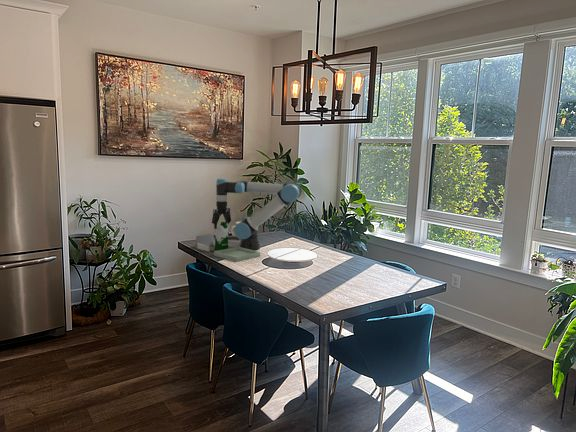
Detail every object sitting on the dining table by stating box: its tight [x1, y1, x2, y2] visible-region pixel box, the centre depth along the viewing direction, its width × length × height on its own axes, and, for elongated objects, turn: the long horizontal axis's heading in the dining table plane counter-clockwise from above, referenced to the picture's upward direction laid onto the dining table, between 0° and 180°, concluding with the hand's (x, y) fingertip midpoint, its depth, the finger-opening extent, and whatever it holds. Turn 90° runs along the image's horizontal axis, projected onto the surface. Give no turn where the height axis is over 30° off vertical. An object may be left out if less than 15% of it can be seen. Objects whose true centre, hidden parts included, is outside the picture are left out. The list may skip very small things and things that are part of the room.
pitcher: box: [230, 220, 242, 240], centre depth 343 cm, size 11×18×14 cm, turn 128°
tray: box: [213, 246, 261, 263], centre depth 286 cm, size 22×22×3 cm
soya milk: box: [214, 221, 230, 251], centre depth 298 cm, size 9×9×20 cm
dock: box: [195, 232, 215, 252], centre depth 306 cm, size 14×15×9 cm
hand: (221, 232), depth 298 cm, fingers closed on soya milk, 9 cm apart
